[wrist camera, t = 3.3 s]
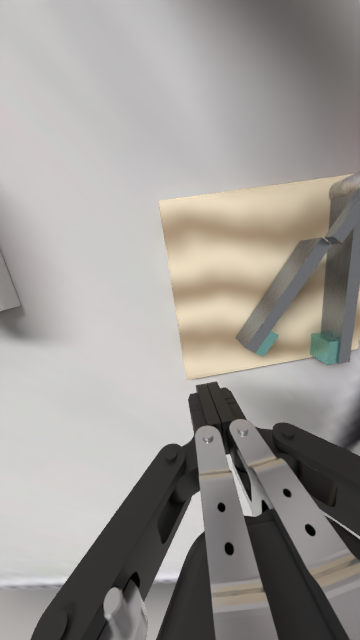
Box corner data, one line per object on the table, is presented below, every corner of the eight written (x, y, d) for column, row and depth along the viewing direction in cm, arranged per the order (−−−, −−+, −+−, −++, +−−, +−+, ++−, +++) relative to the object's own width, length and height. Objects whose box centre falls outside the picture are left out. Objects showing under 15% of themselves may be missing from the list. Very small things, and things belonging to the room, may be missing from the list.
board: (158, 204, 20) (158, 200, 19) (371, 174, 21) (383, 169, 20) (185, 375, 26) (187, 380, 25) (349, 345, 28) (358, 348, 26)
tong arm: (326, 200, 20) (367, 184, 16) (344, 214, 21) (387, 203, 17) (235, 337, 24) (250, 353, 20) (252, 346, 24) (270, 363, 20)
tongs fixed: (320, 183, 20) (370, 159, 15) (347, 180, 20) (405, 154, 15) (309, 354, 26) (343, 374, 21) (330, 350, 26) (368, 370, 21)
